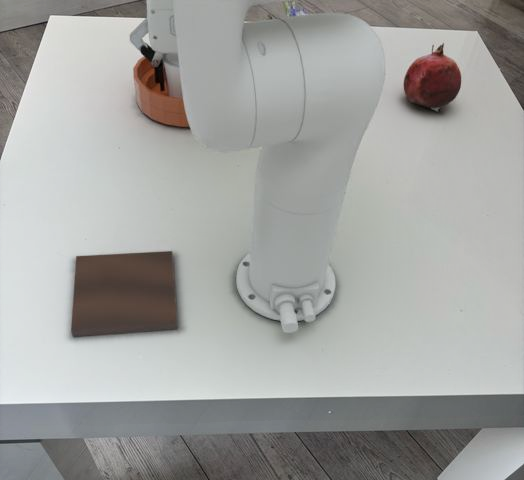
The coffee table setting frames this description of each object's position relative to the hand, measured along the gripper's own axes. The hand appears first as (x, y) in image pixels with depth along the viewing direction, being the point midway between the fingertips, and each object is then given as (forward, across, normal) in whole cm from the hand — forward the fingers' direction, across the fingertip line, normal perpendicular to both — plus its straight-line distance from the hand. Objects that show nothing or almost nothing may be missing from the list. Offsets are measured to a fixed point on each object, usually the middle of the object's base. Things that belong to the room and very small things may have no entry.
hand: (185, 85), depth 89 cm
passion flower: (+3, +20, +13) cm, 24 cm away
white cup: (+2, 0, 0) cm, 2 cm away
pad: (+3, -10, -42) cm, 43 cm away
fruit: (+3, +42, -2) cm, 42 cm away
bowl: (+3, 0, 0) cm, 3 cm away
